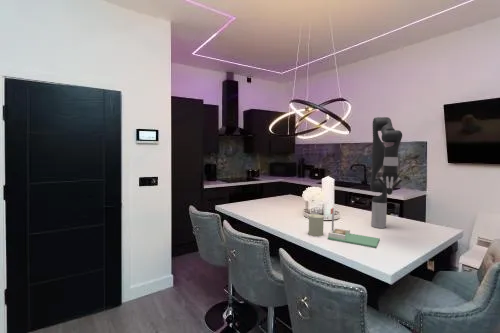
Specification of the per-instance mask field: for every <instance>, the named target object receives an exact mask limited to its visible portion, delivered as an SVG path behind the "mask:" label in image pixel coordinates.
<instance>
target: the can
mask: <svg viewBox="0 0 500 333" xmlns="http://www.w3.org/2000/svg"><path fill="white" fill-rule="evenodd" d="M324 218H325V216H324V215H323V214H314V213H313V214H309V215H308V233H307V234H308V235H309V236H312V237H323V236H324Z"/></svg>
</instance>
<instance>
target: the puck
mask: <svg viewBox="0 0 500 333" xmlns="http://www.w3.org/2000/svg"><path fill="white" fill-rule="evenodd" d="M342 229H343V228H340V229H336V230H335V233H337V234H343V235H345V232H346V231H345V230H342Z"/></svg>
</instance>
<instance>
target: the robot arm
mask: <svg viewBox="0 0 500 333" xmlns="http://www.w3.org/2000/svg"><path fill="white" fill-rule="evenodd" d="M379 132H381V133H380V134H381V138H380V135H379ZM402 139H403V132H402V131H401V130H398V129H397V130H396V129H395V128H394V127H393V123H392V119H391V118H390V117H385V116H383V117H379V116H378V117H374V118H373V119H372V147H371V148H372V150H371V151H372V152H371V172H370V174H371V175H370V176H371V177H370V191H371V192H373V193H381V194H380V195H377V196H372V199H371V221H370V222H371V223H370V224H371V225H370V226H371V227H373V228H376V229H386V227H387V208H388V207H387V205H388V195H389V196H391V195H392V194H393V189H395V188H397V187H398V185H400V183H401V182H403V179H402V178H400V177H399V174H398V172H399V171H398V170H399V159H398V158H399V147H400V144H401V141H402ZM384 143H386V144H387V143H393V145H391V146H385V144H384ZM381 168H382V169H383V170H382V175H381V176H380V177H378V178H377V176H378V173H379V171H380V170H381ZM396 181H397V182H396ZM395 182H396V183H395ZM394 183H395V184H394Z"/></svg>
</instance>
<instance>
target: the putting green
mask: <svg viewBox="0 0 500 333" xmlns="http://www.w3.org/2000/svg"><path fill="white" fill-rule="evenodd" d="M345 235H346V236H345V240H342V239H337V238H331V237H328V236H327V240H329V241H335V242H339V243H345V244H351V245H358V246H363V247H368V248H372V249H376V248H377V247H378V244H379V242H380V237H374V236H368V235H362V234H355V233H350V234H349V235H348V234H345Z"/></svg>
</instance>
